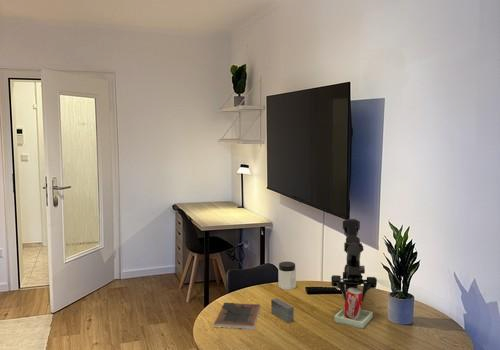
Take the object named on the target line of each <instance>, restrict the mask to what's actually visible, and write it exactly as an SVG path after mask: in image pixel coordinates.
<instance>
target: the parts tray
mask: <svg viewBox="0 0 500 350" xmlns="http://www.w3.org/2000/svg"><path fill="white" fill-rule="evenodd" d="M373 315H374V312H373V311H370V310H365V309H361V315H360V318H359V319H357V320H351V319H348V318H346V317H345V316H344V307H343V308H342V309H341V310H340V311H338V312H337V313H336V314H335V315H334V317H333V318H334V323H337V324H340V325H345V326H349V327H354V328H357V329H361V330H364V329H365V327H366V326H367V325H368V323H369V322H370V321H371V320H372V319H373V318H374V317H373Z"/></svg>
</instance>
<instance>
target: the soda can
mask: <svg viewBox="0 0 500 350" xmlns="http://www.w3.org/2000/svg"><path fill="white" fill-rule="evenodd" d="M362 294H363V290H361V289H360V288H358V289H357V288H349V289H348V291H347V292H346V301H345V300H344V306H343V308H344V316H345V317H346V318H348V319H351V320H357V319H359V318H360V315H361V310H362V306H363V302H362V298H363V296H362Z"/></svg>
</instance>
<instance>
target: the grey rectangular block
mask: <svg viewBox="0 0 500 350" xmlns="http://www.w3.org/2000/svg"><path fill="white" fill-rule="evenodd" d="M270 300H271V303H270V304H271V305H270V306H271V309H270V310H271V314H273V315H274V316H276V317H278V318H279V319H281V320H283V321H284V322H286V323H291V322H294V318H295V317H294V313H295V312H294V309H295V308H294V306H292V305H290V304H288V303H286V302H285V301H283V300H281V299H279V298H277V297H276V298H272V299H270Z"/></svg>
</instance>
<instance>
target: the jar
mask: <svg viewBox="0 0 500 350" xmlns="http://www.w3.org/2000/svg"><path fill="white" fill-rule="evenodd" d="M277 271H278V277H277V278H278V280H277V281H278V282H277V283H278V288H279V289H281V290H286V291H291V290H293V289H296V288H297V269H296V263H295V262H292V261H280V262H279V263H278V269H277Z"/></svg>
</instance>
